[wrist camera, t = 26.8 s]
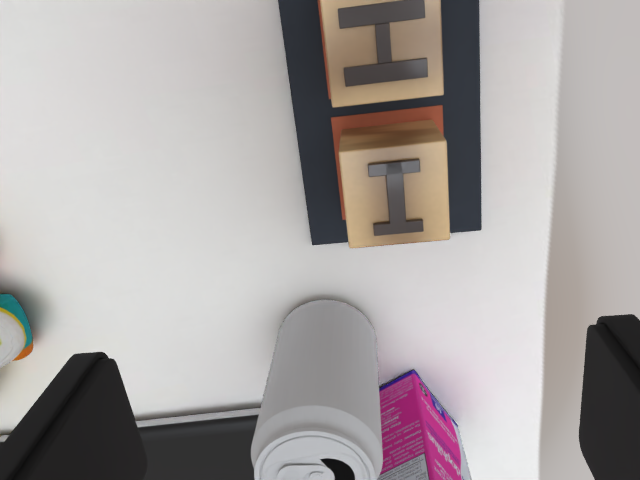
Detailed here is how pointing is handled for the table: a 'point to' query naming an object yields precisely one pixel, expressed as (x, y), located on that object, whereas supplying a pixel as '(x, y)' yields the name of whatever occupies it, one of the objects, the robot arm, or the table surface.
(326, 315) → the beverage can
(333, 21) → the letter h cube
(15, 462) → the robot arm
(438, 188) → the tile
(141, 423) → the tablet
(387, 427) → the supplement box
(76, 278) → the table surface
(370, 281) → the table surface
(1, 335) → the toy airplane
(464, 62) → the mat
